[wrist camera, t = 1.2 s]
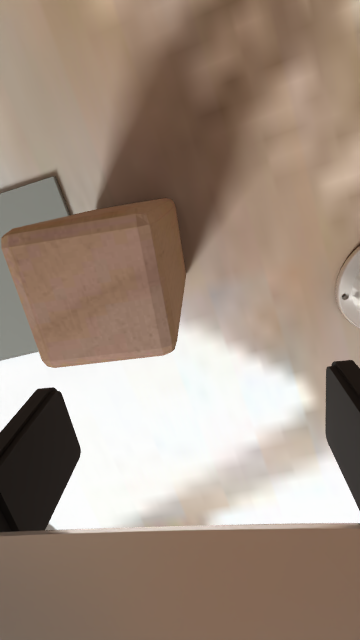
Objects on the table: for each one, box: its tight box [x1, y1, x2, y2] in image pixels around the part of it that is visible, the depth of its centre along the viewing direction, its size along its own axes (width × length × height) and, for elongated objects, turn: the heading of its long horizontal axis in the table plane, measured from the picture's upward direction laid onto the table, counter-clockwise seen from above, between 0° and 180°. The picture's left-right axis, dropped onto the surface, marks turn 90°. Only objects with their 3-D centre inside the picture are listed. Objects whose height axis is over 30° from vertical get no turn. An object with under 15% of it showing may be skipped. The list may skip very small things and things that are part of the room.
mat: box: [0, 177, 70, 361], centre depth 41 cm, size 20×20×1 cm
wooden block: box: [1, 198, 186, 368], centre depth 30 cm, size 10×10×20 cm
